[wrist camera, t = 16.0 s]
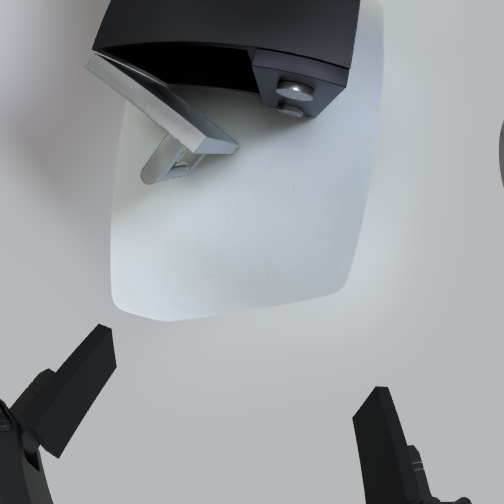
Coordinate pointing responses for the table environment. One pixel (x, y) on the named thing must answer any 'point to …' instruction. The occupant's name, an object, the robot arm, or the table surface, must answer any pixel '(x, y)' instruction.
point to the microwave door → (165, 122)
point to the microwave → (238, 46)
